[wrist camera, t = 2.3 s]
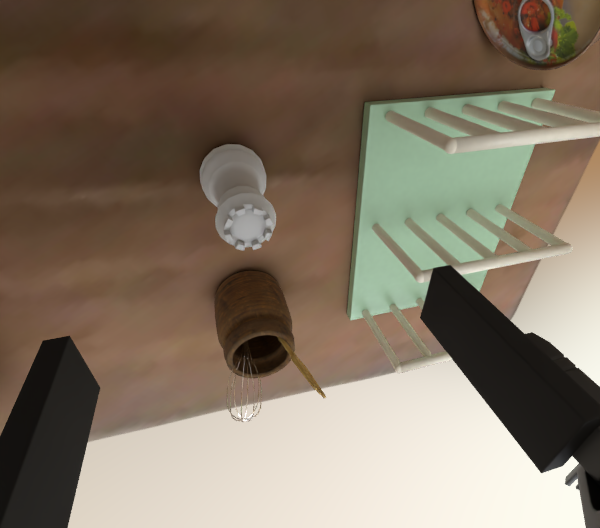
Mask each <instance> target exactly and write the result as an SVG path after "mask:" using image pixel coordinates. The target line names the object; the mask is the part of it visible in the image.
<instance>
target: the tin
mask: <svg viewBox="0 0 600 528" xmlns="http://www.w3.org/2000/svg"><path fill="white" fill-rule="evenodd" d="M474 4H475V8H476V12H477V16H478V19H479V21H480V24H481V26H482V28H483V30H484V32H485V34H486V35H487V37H488V39H489V40H490V42H491V43H492V44H493V45H494V47H495V48H496V49H497V50H498V51H499V52H500V53H501V54H502V55H503V56H505V57H506V58H507V59H509V60H510V61H512V62H514V63H516V64H518V65H520V66H522V67H525V68H529V69H533V70H551V69H556V68H559V67H562V66H565V65H567V64H569V63H571V62H572V61H574V60H575V59H577V58H578V57H580V56H581V55H582V54H583V53H584V52H585V51H586V50H587V49H588V48H589V47H590V46H591V45H593V44H594V43H595V42H597V41H598V40H599V39H600V0H474Z"/></svg>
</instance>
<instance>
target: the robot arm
mask: <svg viewBox="0 0 600 528" xmlns="http://www.w3.org/2000/svg"><path fill="white" fill-rule="evenodd" d="M420 318H421V320H422V321H423V322H424V323H425V325H426V326H427V327H428V329H429V330H430V331H431V332H432V334H433V335H434V336H435V337H436V339H437V340H438V341H439V343H440V344H441V345H442V346H443V348H444V349H445V350H446V352H447V353H448V354H449V355H450V357H451V358H452V359H453V361H454V362H455V363H456V364H457V366H458V367H459V368H460V369H461V370H462V372H463V373H464V375H465V376H466V377H467V378H468V380H469V381H470V382H471V384H472V385H473V386H474V387H475V388H476V390H477V391H478V392H479V394H480V395H481V396H482V398H483V399H484V400H485V401H486V403H487V404H488V405H489V406H490V408H491V409H492V410H493V412H494V413H495V414H496V415H497V417H498V418H499V419H500V421H501V422H502V423H503V424H504V426H505V427H506V428H507V430H508V431H509V432H510V433H511V435H512V436H513V437H514V439H515V440H516V441H517V442H518V444H519V445H520V446H521V448H522V449H523V450H524V451H525V452H526V454H527V455H528V456H529V458H530V459H531V460H532V461H533V463H534V464H535V465H536V467H537V468H538V469H539V471H540V472H541V473H543V472H546V471H549V470H552V469H555V468H558V467H561V466H563V465H564V464H565V463H566V462H567V461H568V460H569V458H570V457H571V456H573V457H574V458H575V459H576V460H577V461H578V462H579V464H578V465H577V466H576V467H575V468H574V469H573V470H572V471H571V473H570V474H569V475H568V476H567V477H566V482H565V484H566V485H568V486H570V485H571V484H572V483H573V482H574V481H575V480H576V479H577V478H578V485H577V486H576V489H579V490H580V495H581V501H582V507H583V513H584V518H585V525H586V528H600V387H599V386H598V385H597V384H596V383H594V381H592V380H591V379H590V378H589V377H588V376H587V375H586V374H585V373H583V372H582V371H581V370H580V369H579V368H576V367H575V365H574V364H573V363H572V362H571V361H570V360H569V359H568V358H565V357H564V355H563V354H562V353H561V352H560V351H559V350H558V349H556V348H555V347H554V346H553V345H552V344H551V343H550V342H548V341H546V340H545V339H543V338H541V337H539V336H538V335H536V334H534V333H528V334H524V333H523V332H522V331H521V330H520V329H518V327H516V326H515V325H514V324H513V323H512V322H511V321H510V320H509V319H508V318H507V317H506V316H505V315H504V314H502V313H501V312H500V311H499V310H498V309H497V308H496V307H495V306H494V305H493V304H492V303H491V302H490V301H489V300H487V299H486V298H485V297H484V296H483V295H482V294H481V293H480V292H479V291H478V290H477V289H476V288H475V287H474V286H472V285H471V284H470V283H469V282H468V281H467V280H466V279H465V278H464V277H463V276H462V275H461V274H460V273H459V272H457V271H456V270H455V269H454V268H453V267H452V266H451V265H446V266H441V267H436V268H433V271H432V275H431V279H430V282H429V286H428V290H427V294H426V298H425V301H424V305H423V309H422V313H421V317H420ZM99 391H100V387H99V385H98V383H97V381H96V380H95V378H94V376H93V375H92V373H91V371H90V370H89V368H88V366H87V364H86V363H85V361H84V359H83V358H82V356H81V354H80V353H79V351H78V349H77V348H76V346H75V344H74V342H73V341H72V339H71V337H70V336H66V337H61V338H56V339H50V340H45V341H43V342H42V344H41V346H40V349H39V351H38V353H37V355H36V358H35V360H34V362H33V364H32V366H31V369H30V371H29V373H28V375H27V378H26V380H25V382H24V384H23V387H22V389H21V391H20V393H19V396H18V398H17V400H16V402H15V405H14V407H13V409H12V411H11V414H10V416H9V418H8V420H7V422H6V425H5V427H4V429H3V431H2V434H1V436H0V528H67V527H68V522H69V518H70V514H71V510H72V506H73V501H74V497H75V493H76V488H77V484H78V480H79V476H80V472H81V467H82V462H83V459H84V455H85V450H86V446H87V442H88V437H89V433H90V429H91V425H92V420H93V416H94V412H95V408H96V403H97V399H98V395H99Z"/></svg>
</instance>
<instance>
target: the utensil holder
mask: <svg viewBox="0 0 600 528" xmlns="http://www.w3.org/2000/svg"><path fill="white" fill-rule="evenodd" d="M215 318H216V327H217V334H218V339H219V342H220V344H221V346H222V348H223V349H224V357H225V360H226V362H227V365H228V367H229V368H230V370H231V371H232V372H233V373H235V375H234V377H236V374H237V375H239V376H242V377H246V378H252V381H253V378H258V381H259V380H260V377H265V376H269V375H271V374H274V373H276V372H278V371H279V370H281V369H282V368H284V367H285V366H286V365H287V364H288V363H289V362H290V360H291V359H292V361H293V362H294V364H295V365H296V366H297V368H298V369H299V370H300V371H301V373H302V374H303V375H304V377H305V378H306V379H307V381H308V382H309V383H310V385H311V386H312V387H313V388H314V390H316V391H317V392H318V393H319V394H321V395H322V397H323V398H325V397H326V396H325V394H324V393H323V391H322V390H321V388H320V387H319V385H318V384H317V383H316V381H315V380H314V378H313V377H312V375H311V374H310V372H309V371H308V369H307V368H306V367H305V365H304V364H303V363H302V362H301V361H300V360H299V359H298V357H297V356H296V355H295V353H294V350H295V345H294V337H293V334H292V320H291V316H290V312H289V309H288V306H287V304H286V301H285V298H284V295H283V293H282V290H281V288H280V286H279V284H278V283H277V282H276V280H275V279H274V278H272V277H271V276H270V275H268V274H266V273H263V272H260V271H243V272H240V273H237V274H234V275H232V276H230V277H229V278H227V279H226V280H225V281H224V282H223V283H222V284H221V285H220V287H219V288H218V290H217V293H216V296H215ZM232 372H231V374H232ZM231 374H230V376H231ZM229 379H230V377H229ZM233 381H234V403H235V380H234V378H233ZM228 384H229V381H228ZM260 384H261V381H260ZM232 385H233V382H232ZM242 387H243V378H242ZM253 389H254V383H253ZM231 390H232V386H231ZM261 399H262V388H261ZM247 401H248V382H247ZM258 401H259V392H258ZM257 405H258V403H257ZM227 407H228V386H227ZM235 407H236V404H235ZM256 407H257V406H256ZM260 408H261V405H260ZM246 409H247V405H246ZM228 410H229V408H228ZM236 410H237V408H236ZM253 410H254V409H253ZM255 410H256V408H255ZM255 410H254V411H255ZM241 411H242V393H241ZM254 411H253V413H252V414H254ZM229 412H230V413H231V394H230V410H229ZM258 413H259V412H258ZM238 414H239V413H238ZM252 414H251V415H252ZM231 415H232V414H231ZM251 415H250V416H251ZM232 416H233V415H232ZM245 416H246V412H245ZM255 416H256V415H255ZM255 416H254V417H255ZM233 417H235V416H233ZM240 417H241V419H239V418H237V419H239V420H238V421H242V422H243V421H244V420H245V421H247V420H248V421H250V420H251V419H252V418H251V419H247V418H246V419H245V418H244V419H243V418H242V414H241V416H240ZM252 417H253V416H252ZM235 418H236V417H235ZM248 418H249V417H248ZM233 419H234V418H233ZM236 421H237V420H236Z"/></svg>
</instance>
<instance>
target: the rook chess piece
mask: <svg viewBox="0 0 600 528" xmlns="http://www.w3.org/2000/svg"><path fill="white" fill-rule="evenodd" d="M200 183H201V185H202V189H203V191H204V193H205V195H206V197H207V199H208V200H209V201H210V202H212V203H213V204H214V205H215V206H216V207H217V208H218V212H217V214H216V216H215V221H216V229H217V231H218V233H219V235H220V237H221V238H222V239H224V240H225V241H226V242H227V243H229V244H231V245H234V246H235V248H236V249H239V250H243V251H244V248H245V247H252V248H253V250H255V249H258V248H260V247H262V246H261V243H262V242H263V241H265V240H267V241H269V239H270V237H271V235H272V232H273V230H274V228H275V226H276V213H275V211H274V208H273V205H272V204H271V203H270V202H269V201H268V200H267V199H266V198H264V196H263V194H264V192H265V189H266V173H265V169H264V167H263V164H262V161H261V159H260V158H259V157H258V156H257V155H256V154H255V153H254V152H253V151H252V150H251V149H249V148H246V147H244V146H242V145H237V144H225V145H223V146H220V147H218V148H215V149H213V150H212V151H211V152H210V153H209V154H208V155H207V156H206V157H205V158H204V160H203V163H202V165H201V168H200Z"/></svg>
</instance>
